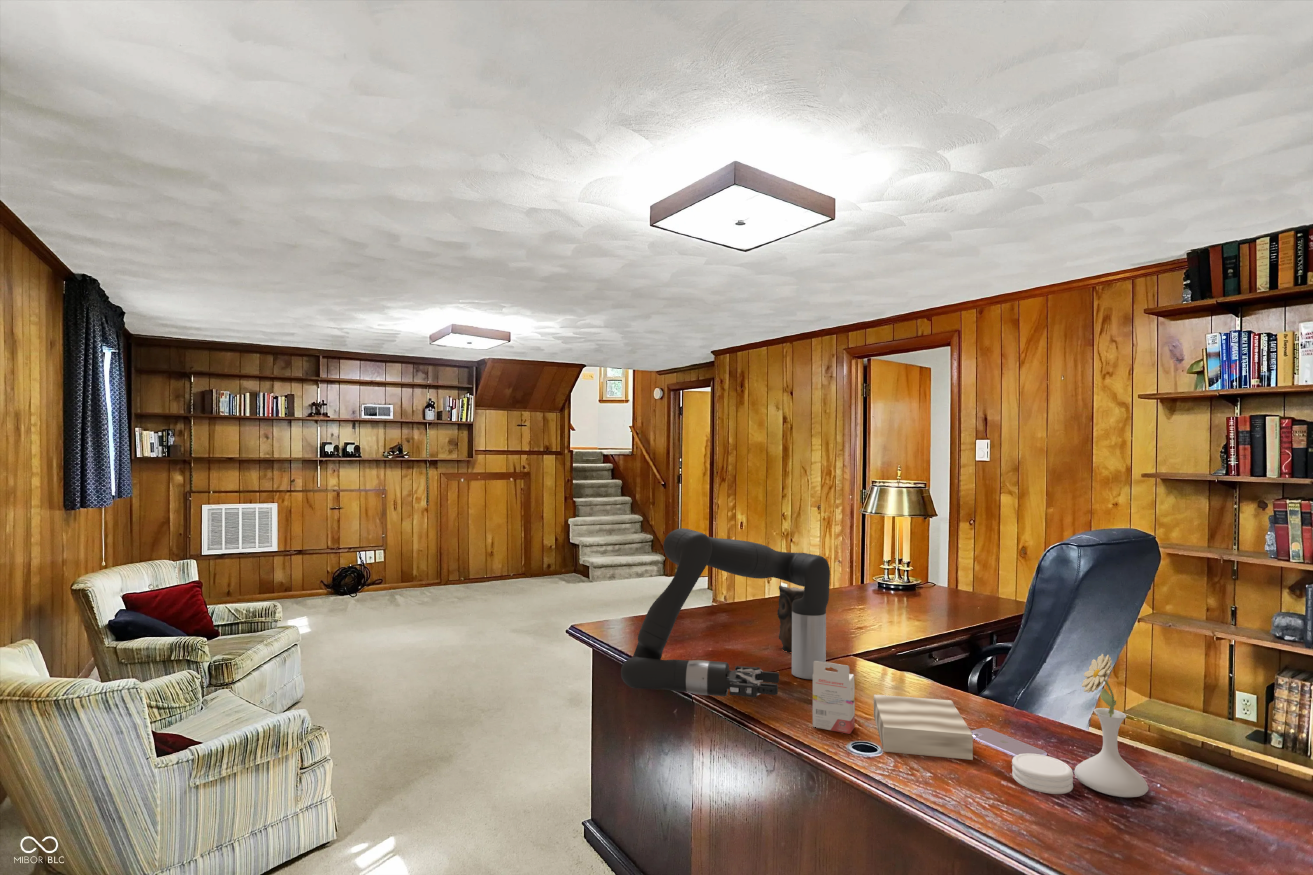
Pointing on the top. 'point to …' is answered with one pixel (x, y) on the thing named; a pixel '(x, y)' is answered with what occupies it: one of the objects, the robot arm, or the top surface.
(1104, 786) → the flower in vase
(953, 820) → the top surface
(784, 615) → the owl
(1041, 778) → the coaster
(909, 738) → the plinth
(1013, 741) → the mobile phone
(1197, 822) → the top surface
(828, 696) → the ink cartridge box
